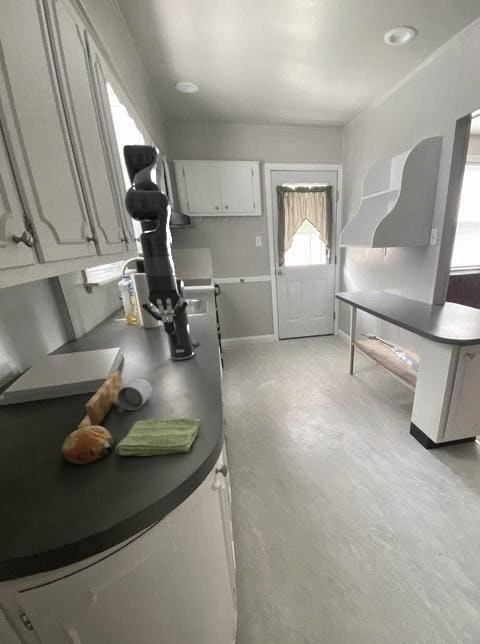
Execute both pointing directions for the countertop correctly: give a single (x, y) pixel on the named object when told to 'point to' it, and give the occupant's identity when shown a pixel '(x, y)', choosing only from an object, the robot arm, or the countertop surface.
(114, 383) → the mottled tan rectangular block
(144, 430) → the washcloth
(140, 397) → the ceramic mug
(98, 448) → the bread roll
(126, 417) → the countertop surface
